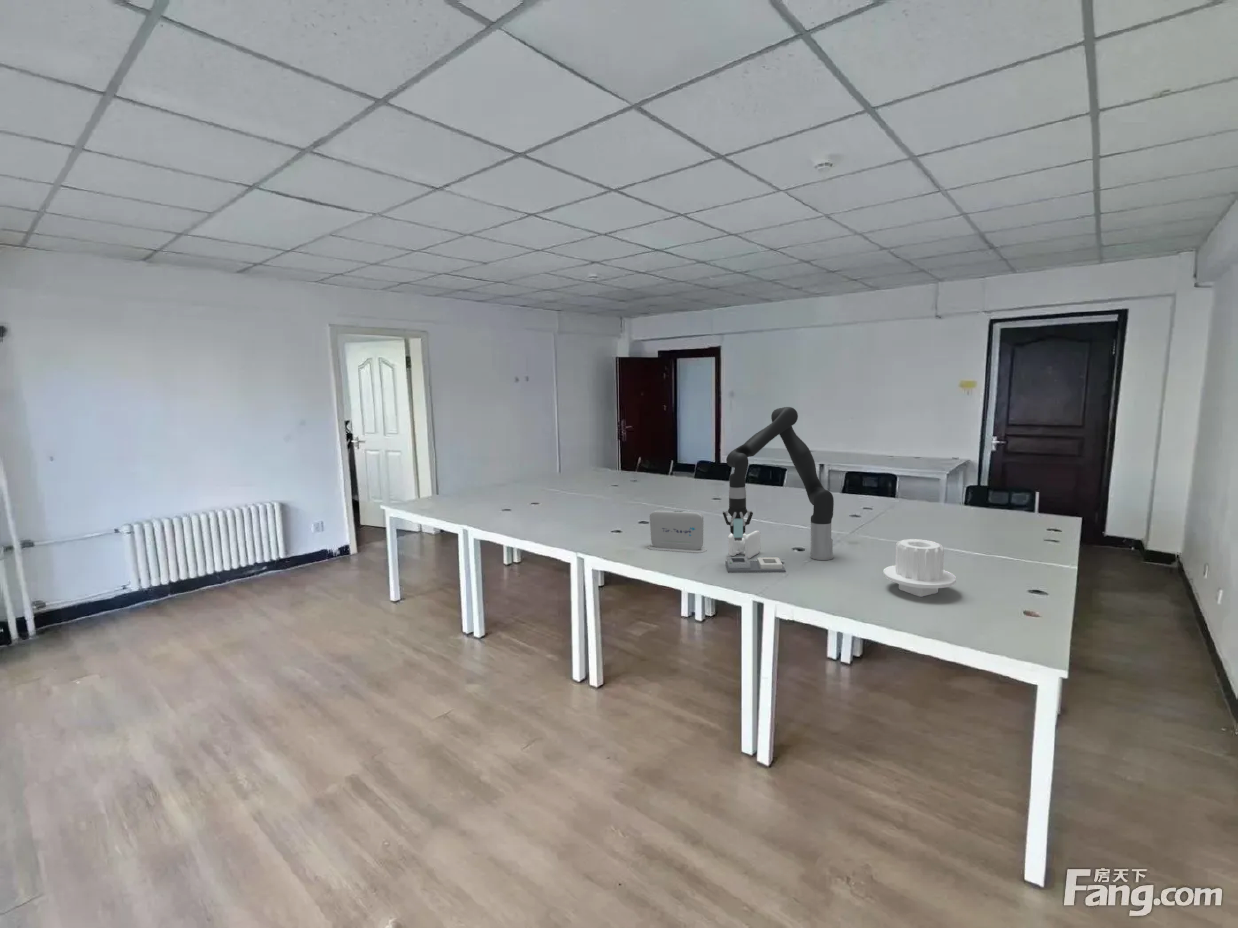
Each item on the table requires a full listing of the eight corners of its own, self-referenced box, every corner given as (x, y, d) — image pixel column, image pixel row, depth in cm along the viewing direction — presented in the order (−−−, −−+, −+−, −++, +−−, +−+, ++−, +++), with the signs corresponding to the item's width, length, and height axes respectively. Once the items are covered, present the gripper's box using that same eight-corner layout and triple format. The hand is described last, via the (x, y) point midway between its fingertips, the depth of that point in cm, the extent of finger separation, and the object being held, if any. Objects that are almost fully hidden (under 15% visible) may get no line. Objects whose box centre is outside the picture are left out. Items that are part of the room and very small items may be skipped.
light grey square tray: (778, 561, 262) (778, 557, 262) (782, 568, 252) (782, 564, 252) (757, 561, 263) (757, 557, 263) (760, 568, 253) (760, 564, 253)
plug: (741, 537, 260) (741, 516, 258) (742, 540, 255) (742, 519, 254) (732, 537, 260) (732, 516, 259) (733, 540, 255) (733, 519, 254)
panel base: (779, 562, 264) (779, 560, 264) (785, 572, 250) (785, 569, 250) (725, 563, 267) (725, 560, 266) (728, 572, 253) (728, 570, 253)
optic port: (747, 561, 264) (747, 555, 263) (750, 568, 253) (750, 562, 253) (726, 562, 265) (726, 556, 264) (728, 569, 254) (728, 562, 254)
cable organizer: (747, 560, 269) (747, 536, 268) (727, 557, 276) (727, 534, 274) (760, 552, 281) (760, 529, 279) (741, 549, 287) (741, 527, 286)
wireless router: (645, 549, 295) (643, 512, 292) (651, 544, 304) (650, 508, 302) (704, 553, 283) (703, 514, 281) (708, 548, 292) (707, 510, 290)
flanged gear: (924, 607, 205) (925, 556, 203) (868, 586, 228) (869, 541, 226) (970, 595, 215) (972, 546, 213) (913, 576, 238) (914, 532, 235)
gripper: (752, 494, 258) (752, 531, 260) (720, 495, 259) (721, 531, 262) (754, 497, 251) (754, 535, 253) (722, 498, 252) (722, 535, 254)
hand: (737, 533), depth 257 cm, fingers closed on plug, 4 cm apart
